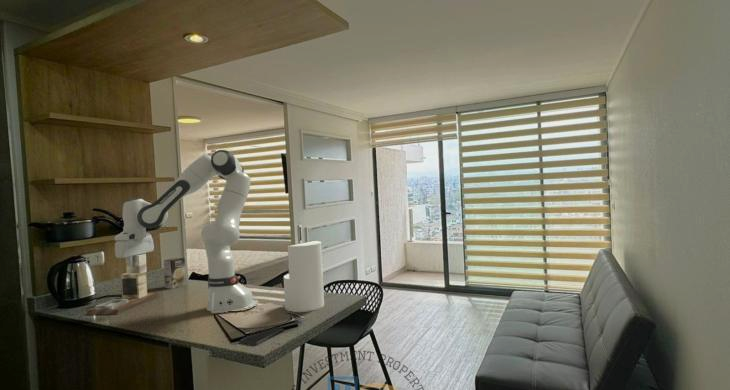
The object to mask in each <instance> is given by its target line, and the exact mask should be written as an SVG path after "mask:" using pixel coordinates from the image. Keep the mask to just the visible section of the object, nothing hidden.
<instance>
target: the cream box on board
mask: <svg viewBox="0 0 730 390" xmlns="http://www.w3.org/2000/svg"><path fill="white" fill-rule="evenodd" d="M120 280H121V283H120V284H121V297H118V298H115V299H111V300H108V301H105V302H103V303H99V304H97V305H95V306H94V307H92V308H91V307H90V308H88V309H86V315H119V314H121V313H123V312H126V311H128V310H131V309H133V308H135V307H137V306H140V305H142V304H144V303H147V302H149V301H151V300H153V299H156V298H158V297H159V292H148V286H147V285H148V284H147V283H148V282H147V272H143V273H140V274H127V272H126V273H122V274H120Z"/></svg>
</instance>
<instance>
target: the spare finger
mask: <svg viewBox="0 0 730 390" xmlns="http://www.w3.org/2000/svg"><path fill="white" fill-rule="evenodd" d="M132 260H133V262H134V264H135V265H134V266H129V262H128V261H127V260H126V259H125V267H126V269H125V270H126V273H127V274H140V273H143V272H146V273H147V268H148V267H147V253H146V254H139V255H134V256H133V258H132Z"/></svg>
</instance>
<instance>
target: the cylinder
mask: <svg viewBox="0 0 730 390" xmlns="http://www.w3.org/2000/svg"><path fill="white" fill-rule="evenodd" d="M322 249H323V247H322V241H320V240H313V241H309V242H307V241H306V242H302V243H297V244H292V245H287V256H288V257H287V259H288V260H287V261H288V262H287V263H288V273H286V274H285V275H283V291H284V293H283V294H284V310H285V311H288V312H291V311H292V312H293V313H306V312H312V311H317V310H319V309H322V308H323V307H324V306H325V291H324V274H323V273H324V271H323V269H324V268H323V250H322Z"/></svg>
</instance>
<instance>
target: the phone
mask: <svg viewBox="0 0 730 390" xmlns="http://www.w3.org/2000/svg"><path fill="white" fill-rule="evenodd" d="M275 327H276V326H275ZM282 333H284V328H281V327H276V328H274V329H271V330H267V331H264V332H261V333H257V334H254V333H253V334H254V335H252V334H250V336H249V335H248V336H246V337H243V338H242V339H240V340H239V343H240V344H241V345H243V344H244V345H246V346H252V347H255V346H259V345H261V344H262V343H265V342H267V341H268V340H270V339H272V338H274V337H276V336H277V335H280V334H282Z"/></svg>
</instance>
